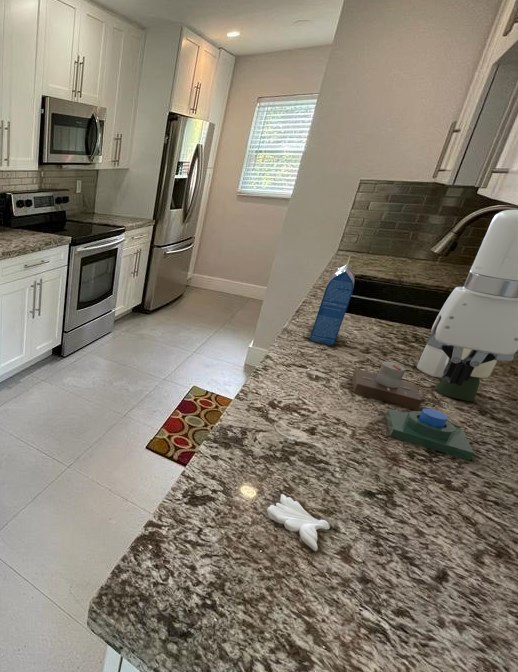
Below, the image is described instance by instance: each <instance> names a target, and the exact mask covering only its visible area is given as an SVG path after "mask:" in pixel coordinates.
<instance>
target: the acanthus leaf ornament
mask: <svg viewBox="0 0 518 672" xmlns="http://www.w3.org/2000/svg"><path fill="white" fill-rule="evenodd" d="M266 511H267V513H266V514H267V517H268V518H269V519H271V520H272V521H274V522H276V523H278V524H281V525H283V526H284V528H285V529H286V530H288V531H290V532H299V537H300V539H301V540H302V542H303V543H305V544H306V545H307V546H308V547H309V548H310V549H311V550H312V551H314V552H317V551H318V549H319V548H318V544H317V543H318V539H319V538H318V532H317V530H319V529H323V530H329V529H330V528H331V527H330V523H329V522H328V521H327V520H324V519H317V518H315V517H313V516H312V515H311V514H310V513H308V512H307V511H306V510H305V509H304V507H303V506H302V505H301V504H300V502H298V501H297V500H294V499H293V498H292V497H290V496H286V495H285V494H284V493H282V494H280V499H279V502H276V503H275V505H274V504H270V505H269V506H268V507H267V509H266Z"/></svg>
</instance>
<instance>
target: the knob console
mask: <svg viewBox="0 0 518 672" xmlns="http://www.w3.org/2000/svg"><path fill="white" fill-rule="evenodd" d="M377 375H378V373H375V372H369V371H365V370H362V369H358V368H355V369H354V372H353V373H352V375H351V382H352V384H351V385H352V391H353V394H355V395H359V396H363V397H366V398H370V399H374V400H377V401H381V402H385V403H388V404H392V405H395V406H399V407H403V408H406V409H410V410H413V411H419V408H420V406H421V404H422V402H423V399H422V396H421V394H420V392H419V390H418V387H417V384H416V383H414V382H409V381H405V380H402V379H401V381H400V384H399V386H398V387H397V388H391V387H386V386H383V385H381V384H379V383H377V382H376V378H377Z"/></svg>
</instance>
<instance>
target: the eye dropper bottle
mask: <svg viewBox="0 0 518 672" xmlns="http://www.w3.org/2000/svg"><path fill="white" fill-rule="evenodd" d="M447 358H448V356H447V355H446V354H445V352H444V351H443V350H440V349H437V348H434V347H432V346H429V345H428V344H427V343H426V345H425V347H424V349H423V352H422V354H421V356H420V358H419V360H418V362H417V365H416V368H417V370H419V371H420V372H422V373H424V374H426V375H428V376H430V377H434V378H443V377H444V375H443V372H444V370H445V368H446V365H445V363H446V361H447Z"/></svg>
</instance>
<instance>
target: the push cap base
mask: <svg viewBox="0 0 518 672" xmlns="http://www.w3.org/2000/svg"><path fill="white" fill-rule="evenodd" d="M420 413H421V411H419V410H413V411H409V412H408V413H406V412H403V411H399V410H396V409H393V408H387V410H386V411H385V415H384V416H385V420H386V425H387V429H388V434H389V437H390V438H393V439H397V440H400V441H404V442H407V443H411V444H414V445H416V446H421V447H424V448H426V449H430V450H433V451H437V452H440V453H443V454H446V455H450V456H452V457H456V458H460V459H463V460H466V461H471V460H472V459H473V457H474V455H475V451H474V449H473V448H472V446H471V444H470V442H469V440H468V438H467V436H466V434H465V432H464V430H463V429H462V428H460V427H457V426H455V425H454V424H453V423H452V422H450V421H448V420H447V422H446V424H445V426H444V428H438V427H434V426H431V425H428V424H426V423H424V422H422V421H420V420H419V419H418V418H419V416H420Z"/></svg>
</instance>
